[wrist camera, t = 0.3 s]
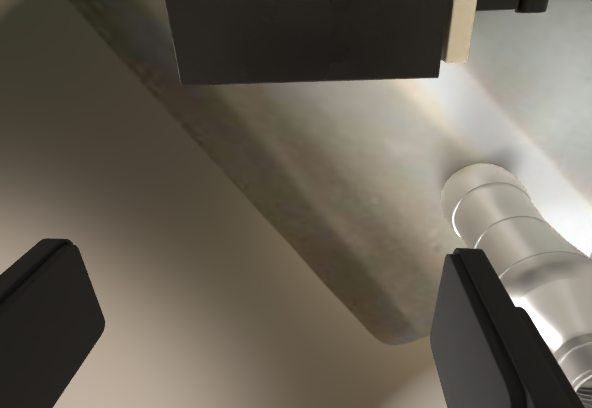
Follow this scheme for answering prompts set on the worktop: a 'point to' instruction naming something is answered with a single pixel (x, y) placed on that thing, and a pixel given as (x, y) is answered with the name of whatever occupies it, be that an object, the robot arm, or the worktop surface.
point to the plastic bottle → (528, 262)
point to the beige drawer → (462, 18)
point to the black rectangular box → (305, 40)
